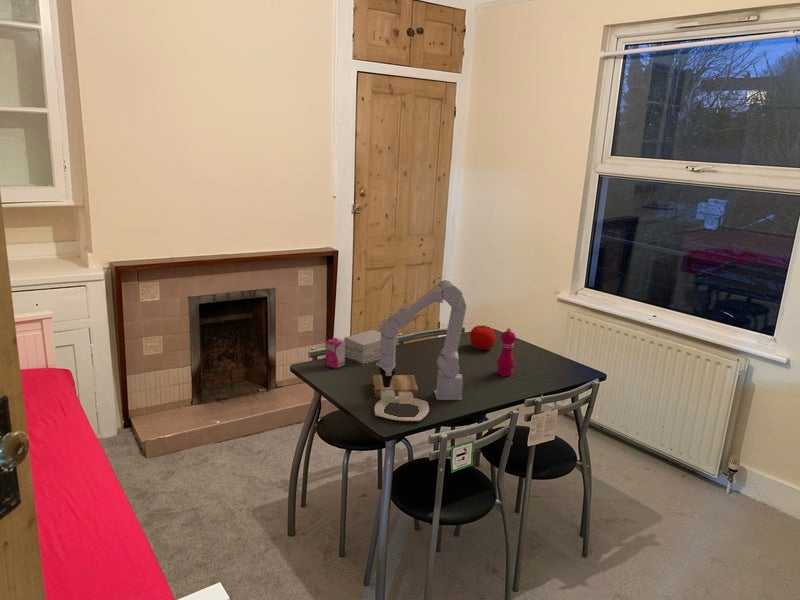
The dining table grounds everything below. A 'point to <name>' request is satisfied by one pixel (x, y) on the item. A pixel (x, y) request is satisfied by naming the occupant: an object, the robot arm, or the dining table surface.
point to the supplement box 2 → (363, 346)
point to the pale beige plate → (421, 414)
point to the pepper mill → (506, 354)
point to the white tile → (405, 398)
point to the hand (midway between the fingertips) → (386, 386)
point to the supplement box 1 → (335, 353)
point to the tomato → (482, 337)
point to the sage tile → (387, 395)
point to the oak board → (396, 384)
